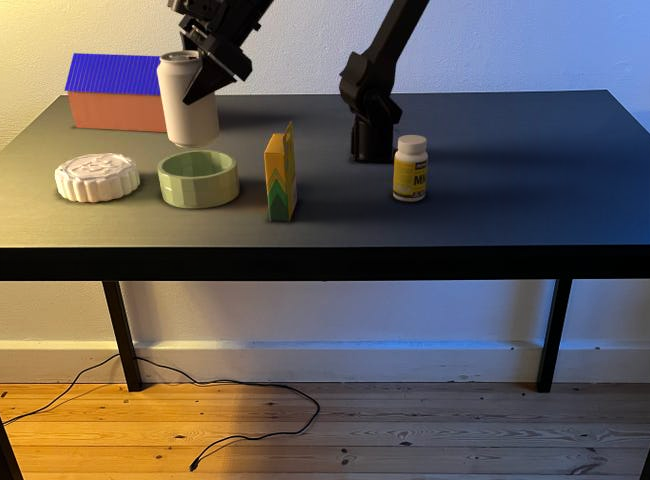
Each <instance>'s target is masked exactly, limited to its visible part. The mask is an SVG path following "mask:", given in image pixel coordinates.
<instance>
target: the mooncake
mask: <svg viewBox="0 0 650 480" xmlns="http://www.w3.org/2000/svg"><path fill="white" fill-rule="evenodd" d="M139 173H140V172H139V170H138V163H137V161H136V160H134V159H133V158H132V157H129V156H126V155H124V154H121V153H113V152H105V153H99V154H97V153H96V154H94V153H93V154H89V153H88V154H84V155H81V156H75V157H73V158H72V159H70V160H67V161H66V162H65V163H62V164H60V165H59V166H58V167H57V168H56V169H55V173H54V178H55V182H56V186H57V190H58V193H59V194H60V195H61V197H63V199H68V200H69V201H71V202H76V201H78V202H79V203H89V202H90V203H98V202H109V201H111V200H114V199H115V200H116V199H120V198H122V197H123V196H128V195H130V194H131V193H132V192H134V191H136V190H137V189H138V186H140V184H141V180H140V178H141V177H140V174H139Z"/></svg>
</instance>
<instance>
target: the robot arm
mask: <svg viewBox="0 0 650 480" xmlns="http://www.w3.org/2000/svg"><path fill="white" fill-rule="evenodd" d="M430 1H431V0H393V1H392V3H391V5H390V7H389V9H388V10H387V12H386V14H385V17H384V18H383V20H382V22H381V24H380V26H379V28H378V30H377V32H376V34H375V36H374V37H373V40H372V42H371V44H370V45H368V47H367V48H366V49H365V50H364V51H363V52H361V54H359V53H358V52H356V51H351V53H350V54H349V56H348V59H347V62H346V64H345V67H344V69H343V70H342V71H340V72H339V74H338V76H339V77H340V80H339V84H338V90H339V94H340V98H341V99H342V101H343V102H344V103H345V104H346V105H348V108H349V111H350V113H351V114H354V115H355V117H354V120H353V121H354V123H353V124H352V125H351V128H350V154H351V155H352V162H357V163H358V162H360V163H394V161H393V160H394V125H398V124H400V121H401V118H402V115H403V108H401V107H400V105H398V104H397V102H395V101H394V100H393V99H392V98H391V95H392V91H393V89H394V87H395V82H396V73H397V64H398V62H399V59H400V57H401V55H402V53H403V51H404V50H405V48H406V46H407V44H408V43H409V41H410V39H411V37H412V35H413V34H414V31H415V29H416V28H417V25H418V23H419V22H420V20H421V18H422V17H423V14H424V12H425V10H426V9H427V7H428V5H429V4H430ZM274 2H275V0H168V1H167V6H166V7H167V8H170V10H171V11H173V12H174V13H176V14H179V15H182V16H183V17H182V18H181V20H180V21H179V23H178V25H177V26H178V27H179V28H180V29H181V30H183V31H184V32H185V33H184V32H183V31H181V30H179V36H180V41H181V46H182V50H181V51H198V55H199V67H198V68H197V70H196V72H195V74H194V76H193V78H192V80H191V82H190V84H189V86H188V87H187V89H186V91H185V94H184V96H183V98H182V102H183V103H185V104H186V105H190V104H192V103H194V102H196V101H198V100H200V99H202V98H203V97H205V96H207V95H209V94H211V93H213V92H215V93H216V92H217V91H218V90H221V89H223V88H226V87H227V86H229V85H232V84H236V83H237V82H238V79H237V78H236V77H238V78H239V80H241V81H242V82H243V83H245V82H246V81H247V79H248V78H249V77H250V75H251V74H252V72H253V71H254V70H253V61H252V59H251V58H249V56H247V55H246V53H244V50H243V49H242V48H241V47H242V46H243V44H244V43H245V42H246V40H247V39H248V37H249V36H250V34H251V33H252V32H253V31H254V32H257V33H258V32H259V31H260V30H261V28H262V24H261V23H260V21H261V20H262V18H263V17H264V15H265V14H266V12H267V11H268V10H269V8H270V7H271V6H272V5H273V3H274ZM235 76H236V77H235Z"/></svg>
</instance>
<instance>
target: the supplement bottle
mask: <svg viewBox="0 0 650 480" xmlns="http://www.w3.org/2000/svg"><path fill="white" fill-rule="evenodd" d="M427 143H428V141H427V138H426V137H425V136H423V135H418V134H405V135H402V136H400V137H398V140H397V151H396V152H395V154H394V161H393V163H394V165H393V166H394V167H393V184H392V195H393V197H394V198H395V199H396V200H399V201H402V202H409V203H411V202H419V201H420V200H423V199H424V198H425V196H426V186H427V175H428V174H427V173H428V161H429V155H428V152H426V150H427V146H428V145H427Z"/></svg>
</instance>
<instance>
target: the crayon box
mask: <svg viewBox="0 0 650 480" xmlns="http://www.w3.org/2000/svg"><path fill="white" fill-rule="evenodd" d="M263 156H264V168H265V180H266V193H267V204H268V215H269V221H270V222H291V218H292V216H293V213H294V210H295V208H296V204H297V201H298V196H297V195H298V194H297V178H296V177H297V176H296V161H295V159H296V158H295V145H294V130H293V121H292V120H290V121H289V123H288V125H287V127H286V129H285V131H284V133H273V134H272V136H271V138H270V140H269V142H268V144H267V147H266V149H265V151H264V154H263Z"/></svg>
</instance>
